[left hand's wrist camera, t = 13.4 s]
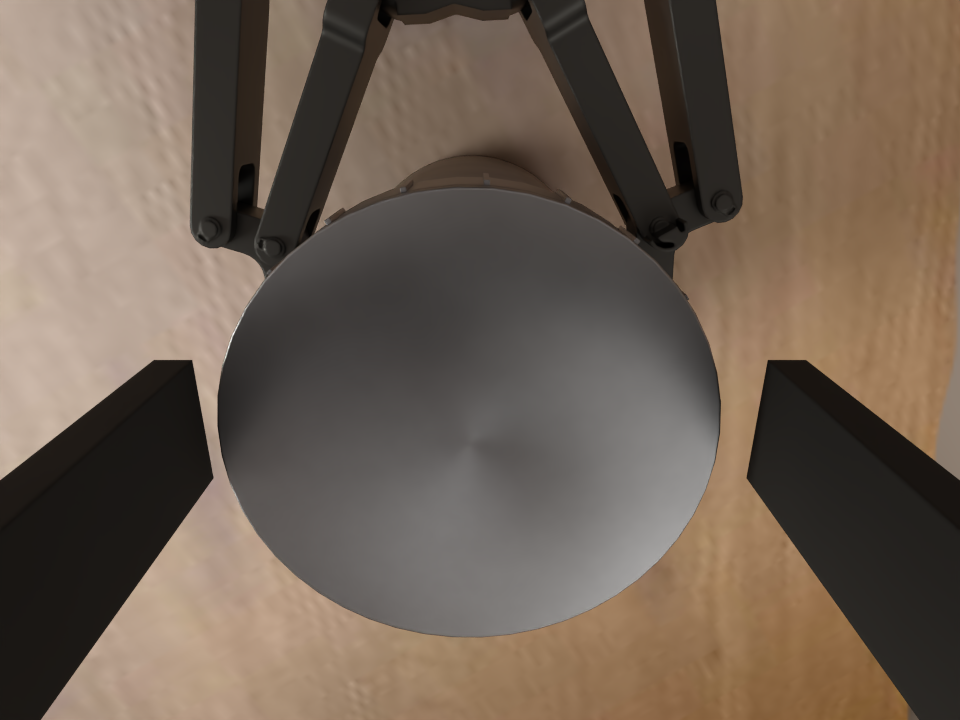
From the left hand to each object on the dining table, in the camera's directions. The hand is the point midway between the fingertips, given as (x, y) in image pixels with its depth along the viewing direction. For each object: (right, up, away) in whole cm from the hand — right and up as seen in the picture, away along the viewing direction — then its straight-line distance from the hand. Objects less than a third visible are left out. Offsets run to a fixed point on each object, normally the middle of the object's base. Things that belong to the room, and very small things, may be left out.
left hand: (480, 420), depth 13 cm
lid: (0, 0, 0) cm, 0 cm away
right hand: (0, -1, +10) cm, 10 cm away
